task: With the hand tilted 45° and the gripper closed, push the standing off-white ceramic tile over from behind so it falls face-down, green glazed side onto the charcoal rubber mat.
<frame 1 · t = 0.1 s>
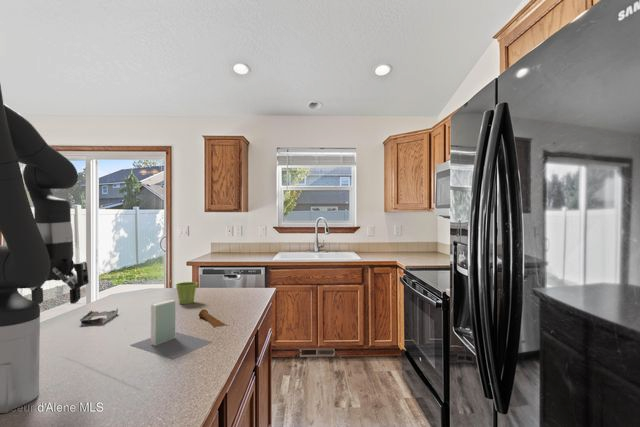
hand: (56, 303, 82), 17 cm above the counter, tool pointing down, fingers open, 8 cm apart
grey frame: (98, 321, 123), on the counter
primitive tool: (213, 324, 119), on the counter
glazed tile: (163, 341, 100), point 1 cm above the counter, touching rubber mat
rubber mat: (171, 345, 98), on the counter
plant pot: (186, 303, 147), on the counter
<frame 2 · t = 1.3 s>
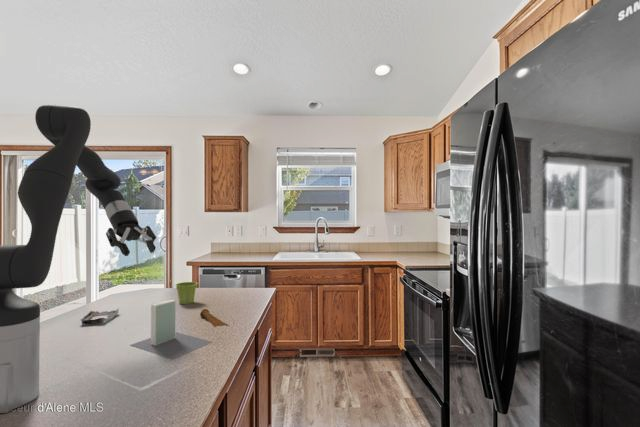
hand: (141, 252, 106), 28 cm above the counter, tool tilted 45°, fingers open, 8 cm apart
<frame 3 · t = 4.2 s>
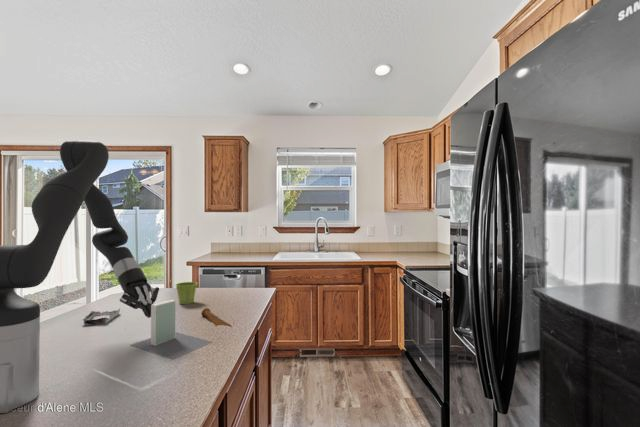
hand: (151, 315, 103), 8 cm above the counter, tool tilted 45°, fingers closed
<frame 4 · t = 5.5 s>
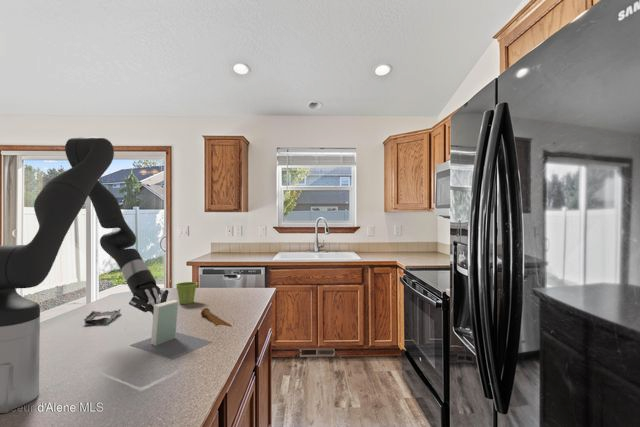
hand: (161, 319, 100), 7 cm above the counter, tool tilted 45°, fingers closed
glazed tile: (163, 340, 100), point 1 cm above the counter, tilted 7°, touching rubber mat
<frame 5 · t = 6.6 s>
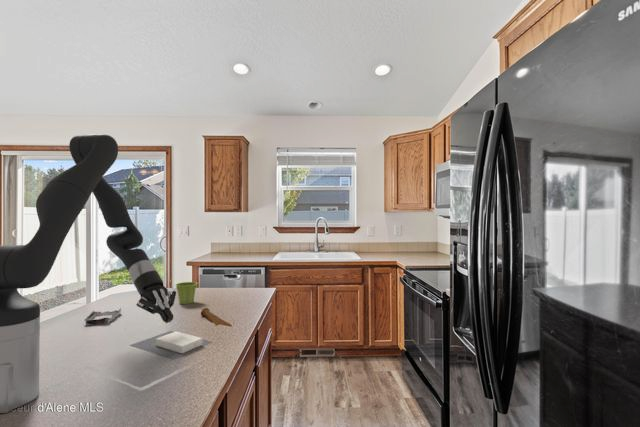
hand: (169, 320, 99), 7 cm above the counter, tool tilted 45°, fingers closed
glazed tile: (166, 338, 100), point 2 cm above the counter, tilted 90°, touching rubber mat
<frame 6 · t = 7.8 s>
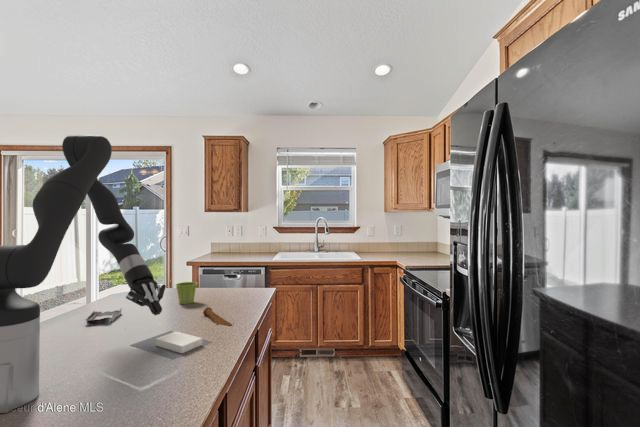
hand: (158, 313, 102), 9 cm above the counter, tool tilted 45°, fingers closed
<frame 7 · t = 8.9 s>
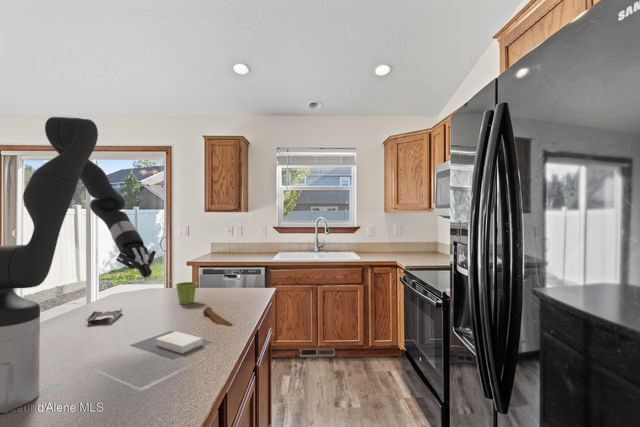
hand: (148, 275, 104), 20 cm above the counter, tool tilted 45°, fingers closed
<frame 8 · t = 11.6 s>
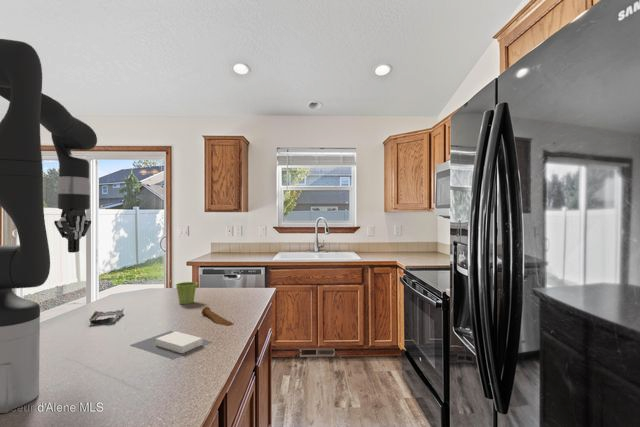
hand: (73, 252, 94), 29 cm above the counter, tool pointing down, fingers closed
at the end: glazed tile tilted 90°; glazed tile touching rubber mat; glazed tile inside the target area (0.3 cm from its centre), point 1.7 cm above the counter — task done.
